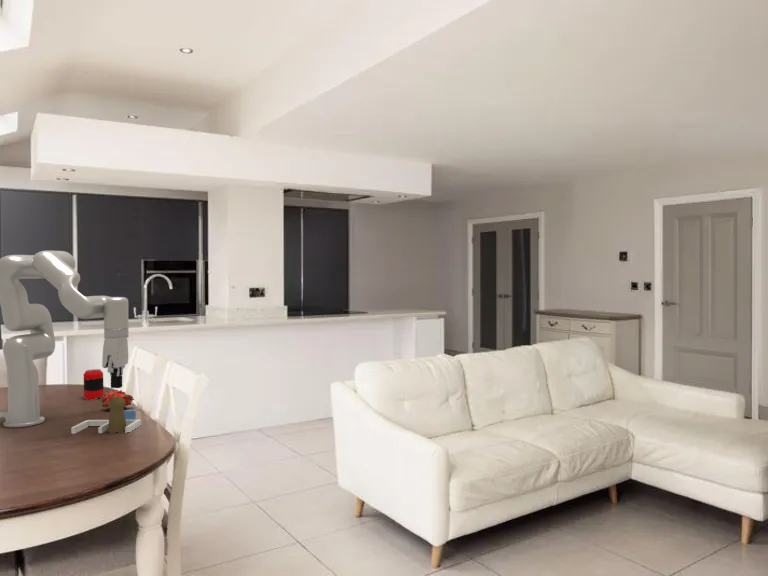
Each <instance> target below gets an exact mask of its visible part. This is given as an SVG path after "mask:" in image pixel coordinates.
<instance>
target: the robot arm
mask: <svg viewBox="0 0 768 576" xmlns="http://www.w3.org/2000/svg"><path fill="white" fill-rule="evenodd" d="M75 269H76V259H75V258H74V256H73V255H72V254H71V253H70V252H68V251H64V250H41V251H38V252H37V253H35V254H34V255H32V254H10V255H6V256H5V255H4V256H3V257H1V258H0V308H1V315H2V321H3V324H4V327H5V328H6V330H8V331H10V332H24V331H25V332H26V331H29V333H26V334H25V333H24V334H19V335H14V336H11V337H9V338H7V340H5V342H4V343H3V346H2V354H3V357H4V360H5V367H6V380H7V404H8V405H7V407H8V409H7V410H8V411H3V412H2V411H0V419H5V421H4V422H3V426H4V427H5V428H24V427H31V426H36V425H41V424H42V423H44V422H45V421H46V420H45V419H46V418H45V416H40V386H39V384H40V382H39V381H40V380H39V370H38V368H37V365H36V364H35V363H34V361H35V360H41V359H46V358H49V357H50V356H52V355H53V354H54V352H55V350H56V338H55V333H54V326H53V320H52V316H51V315H52V314H51V313H50V311H49V309H48V308H47V307H46V306H45V305H43V304H40V303H29V298H28V293H27V290H26V288H25V287H24V285H23V284H22V283H21V281H19V280H21V279H25V280H26V279H27V280H28V279H29V280H30V279H31V280H32V279H36V280H37V279H45V280H47V282H49V283H50V284H51V285H52V286H53V287H54V288H55V289H56V290H57V291H58V292H57V293H58V295H57V296H58V299H59V301H60V303H61V305H62V306H63V307H64V308H65V309H66V310H67V311H68V312H69V313H70V314H72V315H73V316H75V317H77V318H78V319H82V320H89V319H101V318H103V329H104V330H103V337H104V338H103V339H104V341H103V346H102V363H101V365H102V368H103V369H107V373H109V376H110V388H111V389H121V388H123V374H124V369H125V368H126V365H127V364H128V363H129V344H128V339H129V299H128V298H127V297H124V296H110V295H109V296H108V295H90V296H85V295H84V294H82V293H81V292H80V291H78V289H76V288H77V286H78V285H79V283H80V282H81V275H80V273H79V272H77V270H75Z"/></svg>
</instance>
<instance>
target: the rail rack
mask: <svg viewBox="0 0 768 576" xmlns="http://www.w3.org/2000/svg"><path fill="white" fill-rule="evenodd" d="M124 413H125V419H126V425H128V426H126V427H125V431H124V433H125V434H128V433H127V432H130V433H131V432H133V431H135V430H136V429H138V428H139V427H141V426H142V419H141V418H140V419H139V418H138V419H137V410H135V409H134V410H124ZM108 424H109V419H87V420H84V421H81V422H80V423H77V424H76V425H74V426H72V427H71V433H70V434H72V435H75V434H77V433H79V432H81V431H83V430H84V429H87V428H89V427H88V426H100V427H97V430H98V431H97V432H98V433H97V434H103V433H106V432H108ZM140 425H141V426H140ZM137 427H138V428H137ZM135 428H136V429H135ZM134 429H135V430H134ZM132 430H133V431H132Z"/></svg>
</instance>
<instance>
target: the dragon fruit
mask: <svg viewBox="0 0 768 576" xmlns="http://www.w3.org/2000/svg"><path fill="white" fill-rule="evenodd" d="M113 398H123V399H124V400H125V406H124V407H123V408H124V409H125V410H127V409H128V406H131V404H132V401H135V398H134V397H133V395H130V394H127V393H125V391H123V390H122V389H120V390H118V389H112V390H109V391H108V392H104V396H102V398H101V399H100V402H101V404H102V408H109V406H108V403H109V400H111V399H113ZM109 410H110V408H109Z"/></svg>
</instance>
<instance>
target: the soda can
mask: <svg viewBox="0 0 768 576" xmlns="http://www.w3.org/2000/svg"><path fill="white" fill-rule="evenodd" d="M104 391H105V390H104V372H103V371H102V370H101V369H99V368H97V369H96V368H95V369H87V370H85V372H84V373H83V399H84V398H86V399H95V398H101V397H102V396H104V395H105V392H104ZM101 399H102V398H101Z"/></svg>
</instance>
